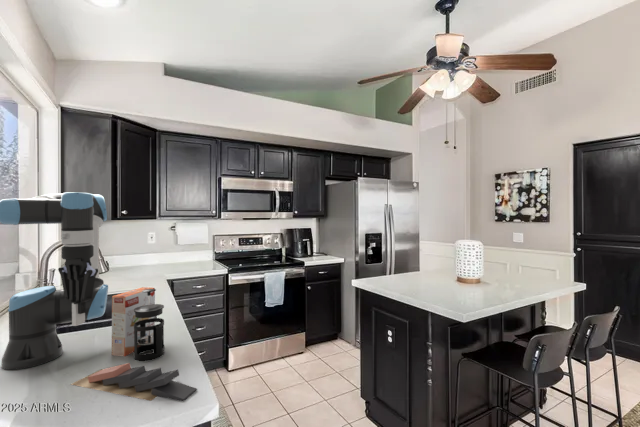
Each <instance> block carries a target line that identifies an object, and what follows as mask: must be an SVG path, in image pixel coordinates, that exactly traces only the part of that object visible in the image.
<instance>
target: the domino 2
mask: <svg viewBox="0 0 640 427" xmlns="http://www.w3.org/2000/svg"><path fill="white" fill-rule="evenodd" d="M162 373H163V370H162V368H161V367H158V368H154V369H150V370H149V369H148V370H146V371H145V372H144V373H142V374H140V375H138V376H137V377H135V378H133V379H132V380H128V381H124V382H119V383H118V385H119V389H121V388H126V387H130V386H135V385H139V384H144V383H148V382H149V381H151V380H153V379H154V378H156V377H157V376H159V375H161V374H162Z"/></svg>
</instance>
